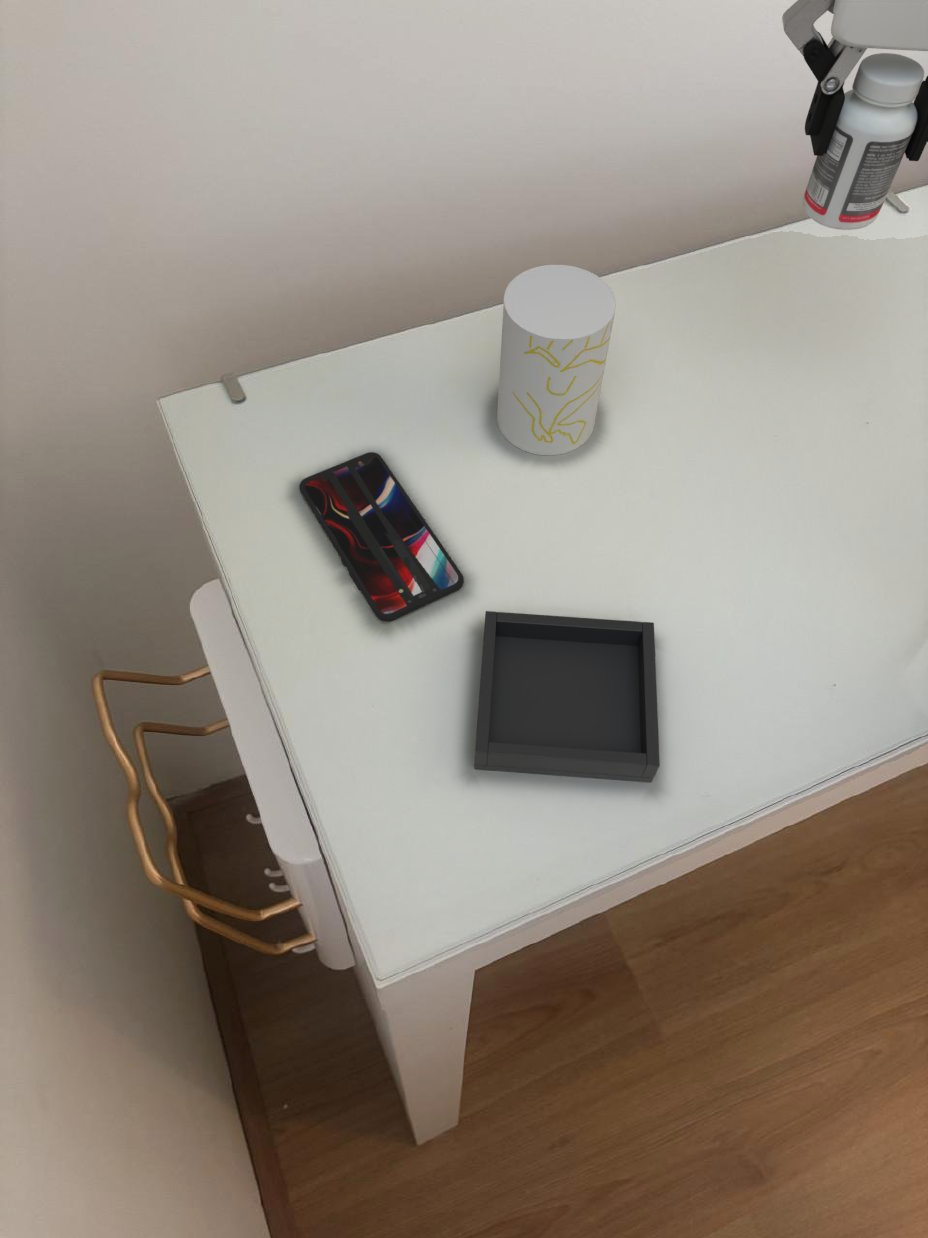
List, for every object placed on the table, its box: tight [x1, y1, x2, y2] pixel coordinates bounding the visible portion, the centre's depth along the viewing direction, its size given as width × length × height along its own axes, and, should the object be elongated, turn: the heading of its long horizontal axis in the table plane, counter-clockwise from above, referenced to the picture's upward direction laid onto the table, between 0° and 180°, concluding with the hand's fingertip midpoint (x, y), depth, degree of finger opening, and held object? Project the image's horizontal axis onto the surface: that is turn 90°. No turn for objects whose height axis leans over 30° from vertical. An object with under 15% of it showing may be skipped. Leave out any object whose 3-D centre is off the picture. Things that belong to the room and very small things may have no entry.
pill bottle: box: [802, 52, 925, 231], centre depth 62 cm, size 5×5×10 cm
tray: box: [473, 610, 661, 783], centre depth 61 cm, size 12×11×3 cm
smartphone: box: [298, 451, 465, 623], centre depth 70 cm, size 7×1×15 cm
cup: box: [496, 264, 617, 456], centre depth 72 cm, size 8×8×12 cm
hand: (863, 144), depth 62 cm, fingers closed on pill bottle, 5 cm apart
